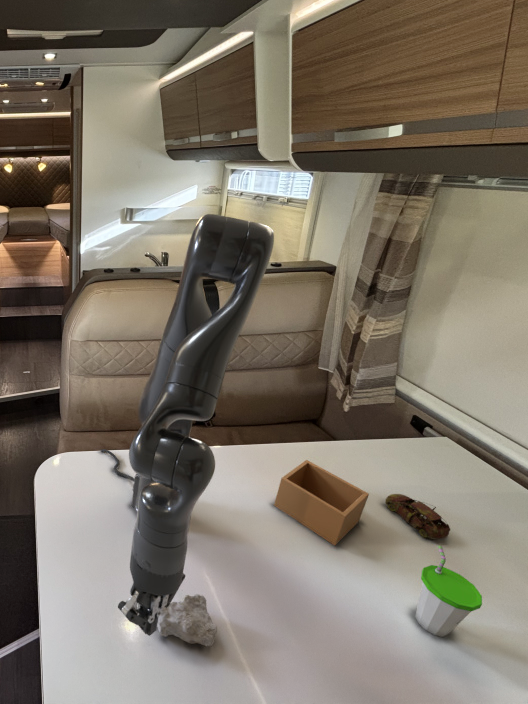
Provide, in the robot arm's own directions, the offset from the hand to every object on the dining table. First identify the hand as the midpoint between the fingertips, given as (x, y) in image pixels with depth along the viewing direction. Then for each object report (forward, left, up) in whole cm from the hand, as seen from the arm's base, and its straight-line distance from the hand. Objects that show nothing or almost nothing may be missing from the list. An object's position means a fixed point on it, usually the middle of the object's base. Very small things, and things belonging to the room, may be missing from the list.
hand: (147, 628), depth 68 cm
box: (+12, +58, -10) cm, 60 cm away
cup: (+34, +44, -10) cm, 56 cm away
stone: (+2, +11, -10) cm, 15 cm away
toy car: (+29, +72, -10) cm, 78 cm away
